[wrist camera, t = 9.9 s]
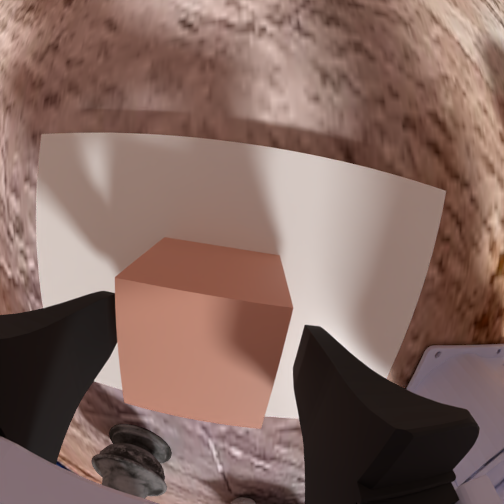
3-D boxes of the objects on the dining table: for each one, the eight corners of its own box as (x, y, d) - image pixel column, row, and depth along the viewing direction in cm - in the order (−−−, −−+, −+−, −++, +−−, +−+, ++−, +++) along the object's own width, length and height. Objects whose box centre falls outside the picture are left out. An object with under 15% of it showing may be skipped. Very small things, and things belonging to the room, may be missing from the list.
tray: (430, 188, 13) (446, 190, 12) (359, 403, 17) (365, 418, 15) (57, 135, 13) (41, 134, 11) (65, 355, 16) (55, 367, 15)
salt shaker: (100, 413, 18) (39, 534, 6) (173, 432, 18) (136, 575, 6) (113, 453, 19) (72, 557, 8) (176, 470, 20) (151, 585, 8)
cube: (279, 255, 13) (293, 307, 8) (259, 352, 14) (260, 428, 9) (164, 237, 13) (114, 277, 8) (159, 335, 14) (124, 402, 9)
